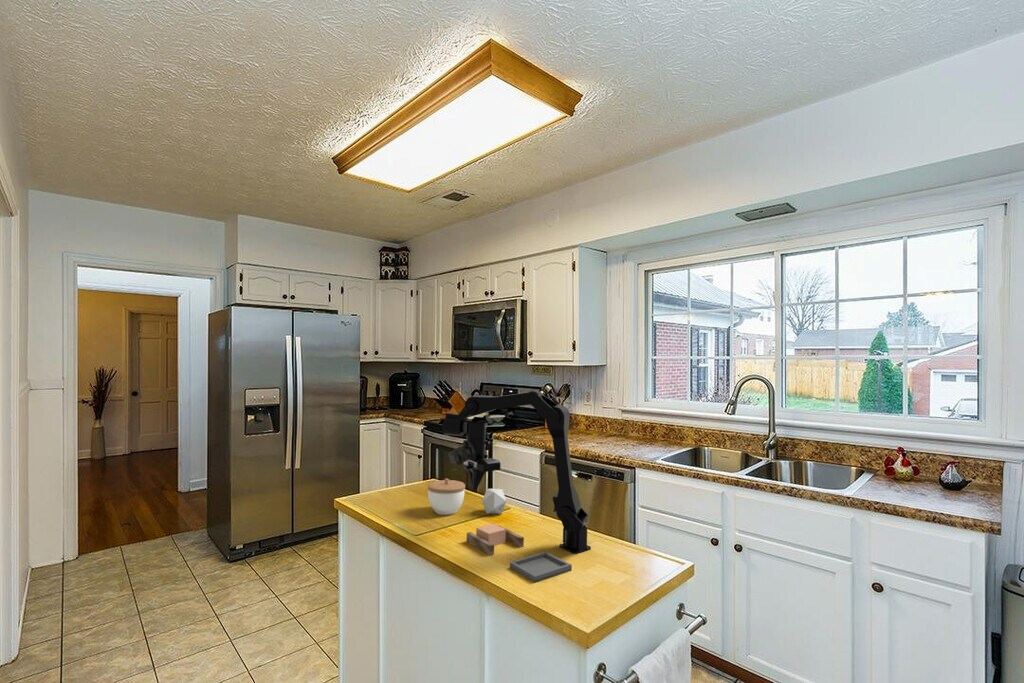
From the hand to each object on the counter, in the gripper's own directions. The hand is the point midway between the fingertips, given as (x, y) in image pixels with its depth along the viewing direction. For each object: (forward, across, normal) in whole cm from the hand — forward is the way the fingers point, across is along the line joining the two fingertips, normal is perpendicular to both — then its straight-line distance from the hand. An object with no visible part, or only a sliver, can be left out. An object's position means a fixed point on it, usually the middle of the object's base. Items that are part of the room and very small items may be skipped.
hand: (474, 489), depth 152 cm
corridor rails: (+13, +11, 0) cm, 17 cm away
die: (+13, -12, +16) cm, 24 cm away
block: (+13, +9, 0) cm, 16 cm away
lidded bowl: (+13, -22, +3) cm, 26 cm away
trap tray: (+13, +31, 0) cm, 34 cm away
